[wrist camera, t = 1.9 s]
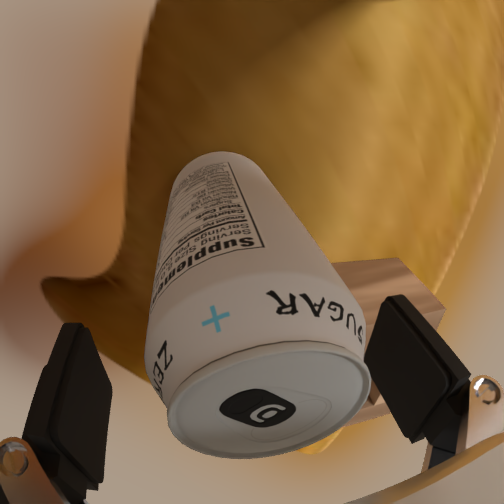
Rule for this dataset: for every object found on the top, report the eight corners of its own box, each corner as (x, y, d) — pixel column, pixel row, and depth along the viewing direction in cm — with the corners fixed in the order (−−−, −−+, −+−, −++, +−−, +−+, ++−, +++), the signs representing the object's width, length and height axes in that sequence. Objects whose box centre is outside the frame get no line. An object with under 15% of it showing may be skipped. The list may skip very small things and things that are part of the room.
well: (242, 269, 22) (261, 340, 16) (397, 257, 24) (446, 308, 18) (241, 382, 29) (253, 444, 23) (362, 362, 31) (389, 413, 25)
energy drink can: (219, 255, 21) (260, 476, 9) (151, 197, 19) (92, 423, 6) (286, 195, 20) (421, 384, 7) (221, 127, 17) (304, 259, 4)
